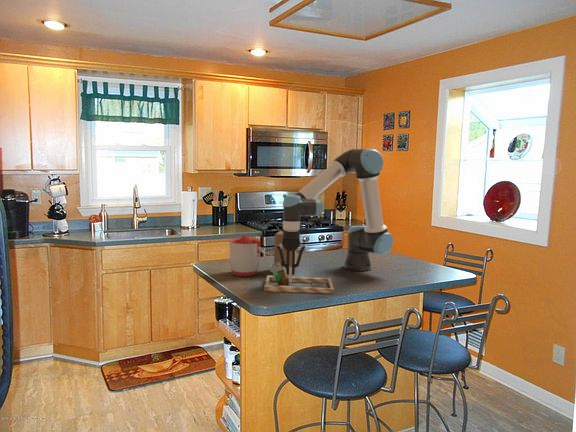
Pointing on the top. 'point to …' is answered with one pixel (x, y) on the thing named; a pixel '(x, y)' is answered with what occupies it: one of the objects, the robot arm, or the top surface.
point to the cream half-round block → (280, 273)
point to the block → (276, 252)
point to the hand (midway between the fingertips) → (290, 281)
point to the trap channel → (317, 287)
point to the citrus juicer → (245, 255)
